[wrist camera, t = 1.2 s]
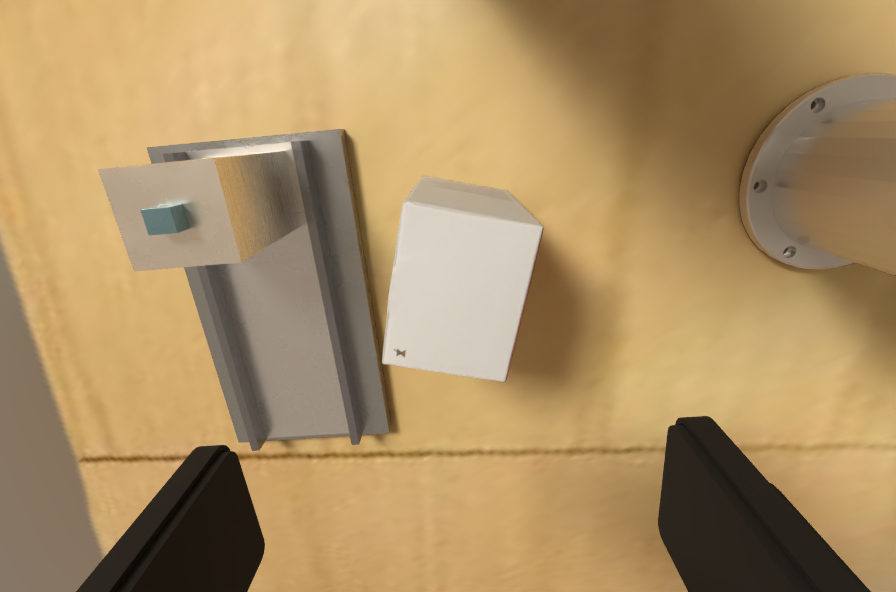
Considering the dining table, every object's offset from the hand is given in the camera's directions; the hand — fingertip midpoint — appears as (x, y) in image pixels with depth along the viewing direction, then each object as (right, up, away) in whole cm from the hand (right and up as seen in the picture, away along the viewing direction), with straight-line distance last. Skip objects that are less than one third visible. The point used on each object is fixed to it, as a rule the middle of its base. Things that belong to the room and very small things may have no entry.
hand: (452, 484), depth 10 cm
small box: (+1, +9, +23) cm, 24 cm away
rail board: (-13, +4, +25) cm, 28 cm away
